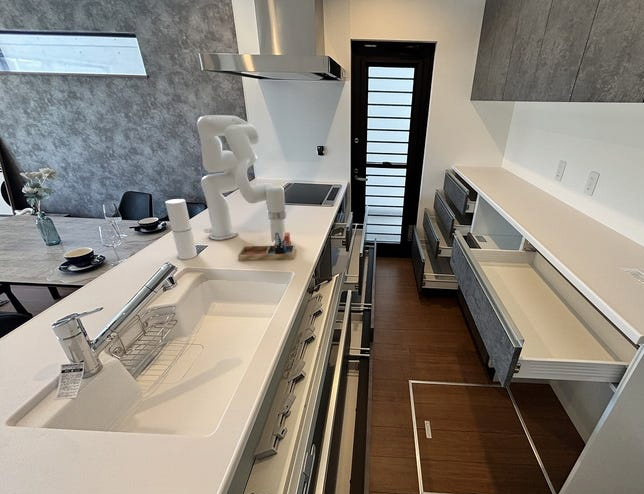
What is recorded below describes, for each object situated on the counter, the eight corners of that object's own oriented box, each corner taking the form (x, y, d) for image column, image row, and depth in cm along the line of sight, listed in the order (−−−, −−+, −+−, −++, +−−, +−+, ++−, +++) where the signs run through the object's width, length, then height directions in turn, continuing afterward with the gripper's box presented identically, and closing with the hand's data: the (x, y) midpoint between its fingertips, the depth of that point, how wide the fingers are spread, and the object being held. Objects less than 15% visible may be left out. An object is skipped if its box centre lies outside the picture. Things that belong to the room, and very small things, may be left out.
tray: (238, 260, 132) (237, 255, 131) (244, 251, 141) (243, 246, 140) (293, 259, 135) (292, 253, 134) (295, 249, 144) (294, 244, 143)
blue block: (275, 255, 136) (274, 245, 134) (276, 251, 140) (275, 241, 138) (285, 254, 137) (284, 244, 135) (286, 250, 141) (285, 240, 139)
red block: (279, 245, 148) (279, 236, 146) (281, 241, 152) (280, 232, 150) (289, 245, 149) (288, 235, 147) (290, 241, 153) (289, 232, 151)
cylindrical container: (178, 260, 131) (164, 204, 121) (179, 253, 137) (165, 199, 127) (197, 257, 134) (184, 202, 124) (197, 251, 140) (185, 198, 130)
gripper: (271, 209, 138) (275, 245, 145) (264, 220, 123) (269, 261, 130) (288, 208, 139) (291, 245, 146) (283, 220, 124) (287, 260, 131)
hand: (281, 252), depth 138 cm, fingers closed on blue block, 4 cm apart
